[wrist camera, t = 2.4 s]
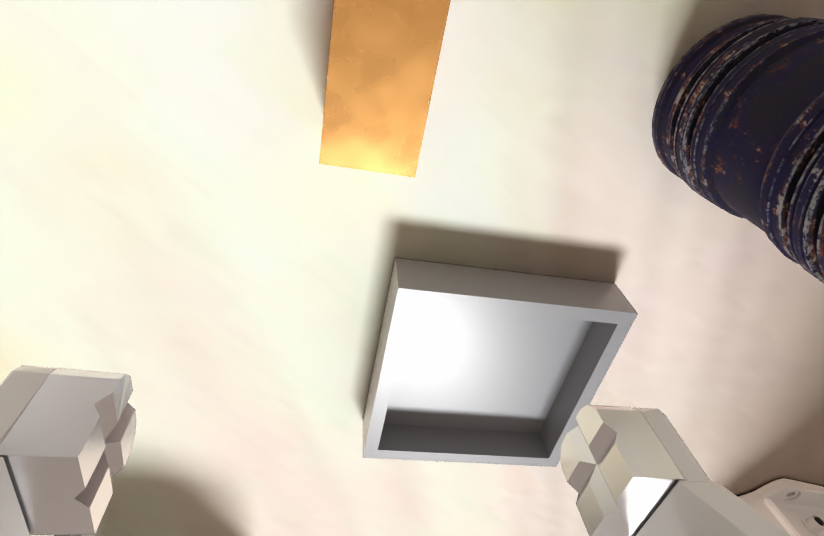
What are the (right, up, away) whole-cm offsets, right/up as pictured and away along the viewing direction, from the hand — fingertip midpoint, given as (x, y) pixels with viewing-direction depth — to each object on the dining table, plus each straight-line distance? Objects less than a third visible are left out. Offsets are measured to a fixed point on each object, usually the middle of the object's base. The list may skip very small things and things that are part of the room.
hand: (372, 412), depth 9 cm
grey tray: (+6, -4, +29) cm, 30 cm away
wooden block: (-1, +14, +17) cm, 22 cm away
